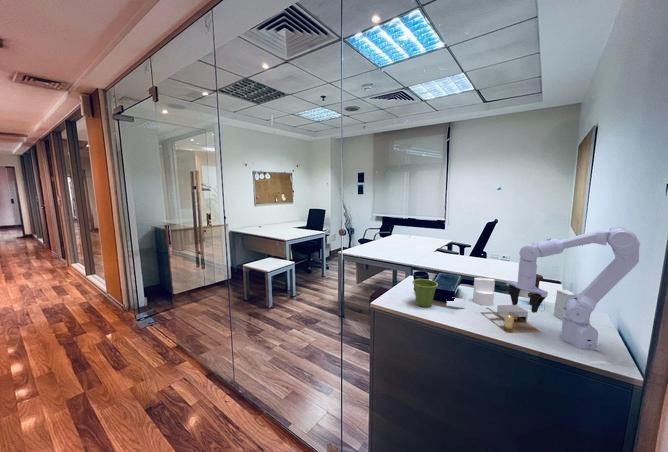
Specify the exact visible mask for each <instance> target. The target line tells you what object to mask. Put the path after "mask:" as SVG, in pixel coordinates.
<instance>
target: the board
mask: <svg viewBox="0 0 668 452" xmlns="http://www.w3.org/2000/svg"><path fill="white" fill-rule="evenodd" d="M485 308H486V309H485V310H487V309H488V310H489V311H490V312H480V314H481V315H482V316H484V317H485V318H486V319H488V320H489V321H491V322H492V323H493V325H495V326H497V327H498V328H499V329H500V330H502V331H504V332H505V333H506V334H514V333H515V334H516V333H517V334H518V333H528V334H529V333H542V331H541V330H539V329H538V328H536V327H535V326H533V325H531V324H529V323H528V321H525V320H523V319H522V318H520V317H514V324H513V332H507V331H505V330H504V324H503V325H499V324H497V323H496V321H503V322H504V320H505V319H503V318H502V317H501V316H499V315H498V314H497V311H494V310H493V309H491V308H490V307H485ZM486 314H487V315H490V314H491V315H492V314H493V315H494V316H496V317H494V318H493V317H488V316H487V315H486Z"/></svg>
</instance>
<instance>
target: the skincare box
mask: <svg viewBox="0 0 668 452" xmlns="http://www.w3.org/2000/svg"><path fill="white" fill-rule="evenodd" d="M577 294H578V293H575V292H572V291H570V290H568V289H556V295H555V296H556V298H555V303H554V310H553V316H555V317H556V318H558V319H559V320H562V321H563V315H564V314H565V313H566V307H565V302H566V301H567V300H568V299H570V298H573V297H575V296H576V295H577Z"/></svg>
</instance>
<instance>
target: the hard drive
mask: <svg viewBox="0 0 668 452" xmlns="http://www.w3.org/2000/svg"><path fill="white" fill-rule="evenodd" d="M454 298H455V299H454V301H447V300H446V306H445V307H446V308H447V309H453V310H466V302H465V301H466V299H465V298H460V297H459V298H457V297H454Z"/></svg>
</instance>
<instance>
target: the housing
mask: <svg viewBox="0 0 668 452" xmlns="http://www.w3.org/2000/svg"><path fill="white" fill-rule="evenodd" d="M496 308H497V310H496V312H497V314H498V315H499V316H501V317H502V318H503V319H505V314H511V315H513V316H514V317H519V318H520V319H522V320H523V321H525V322H528V318H529V317H528V315H529V311H528V310H525V308H522V307H520V306H518V304H517V305H512V304H497V307H496Z"/></svg>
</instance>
